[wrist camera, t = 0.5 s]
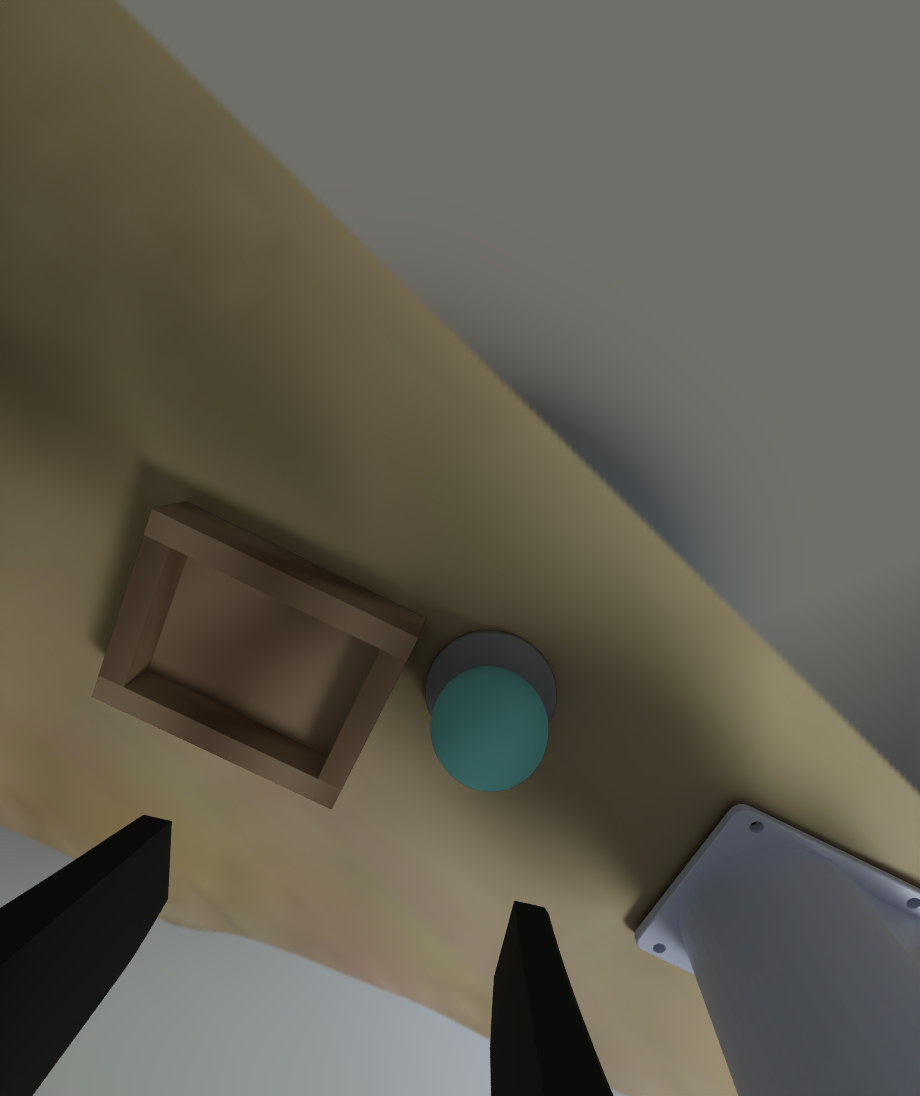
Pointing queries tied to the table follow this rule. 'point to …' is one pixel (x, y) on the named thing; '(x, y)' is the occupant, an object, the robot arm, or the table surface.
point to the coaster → (492, 664)
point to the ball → (489, 728)
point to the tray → (253, 652)
